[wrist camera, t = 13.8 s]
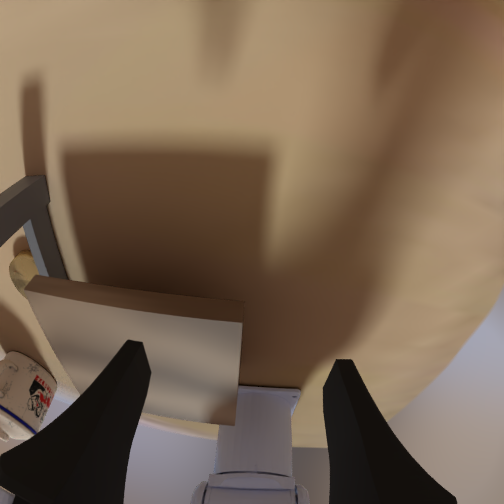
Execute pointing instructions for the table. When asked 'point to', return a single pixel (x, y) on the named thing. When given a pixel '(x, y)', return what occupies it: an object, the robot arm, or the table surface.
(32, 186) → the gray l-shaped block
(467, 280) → the table surface
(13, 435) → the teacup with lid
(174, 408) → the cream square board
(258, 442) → the robot arm
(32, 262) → the token
